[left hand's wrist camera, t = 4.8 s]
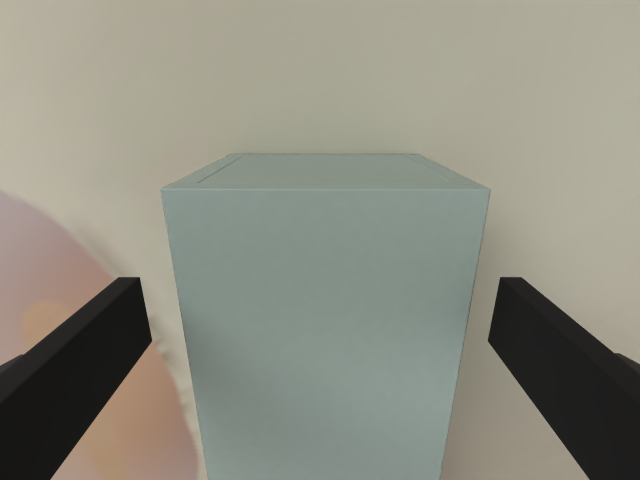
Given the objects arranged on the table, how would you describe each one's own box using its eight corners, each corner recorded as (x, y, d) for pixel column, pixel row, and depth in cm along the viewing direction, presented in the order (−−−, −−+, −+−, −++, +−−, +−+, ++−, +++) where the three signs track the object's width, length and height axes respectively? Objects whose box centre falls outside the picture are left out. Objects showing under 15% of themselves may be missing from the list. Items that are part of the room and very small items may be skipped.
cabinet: (392, 430, 27) (423, 575, 18) (254, 428, 27) (223, 573, 18) (419, 154, 19) (491, 189, 11) (229, 154, 19) (159, 188, 11)
